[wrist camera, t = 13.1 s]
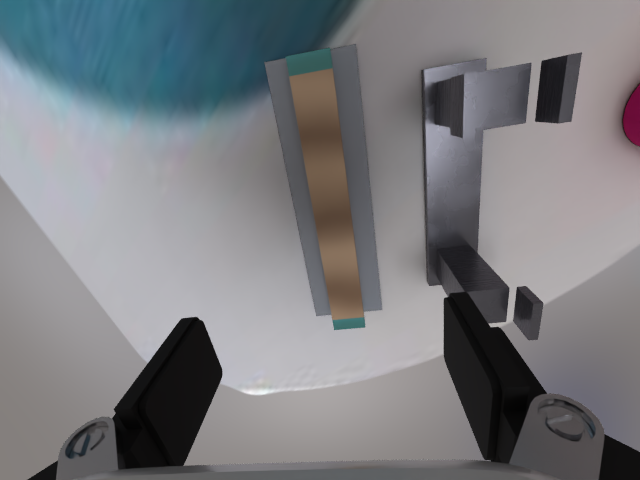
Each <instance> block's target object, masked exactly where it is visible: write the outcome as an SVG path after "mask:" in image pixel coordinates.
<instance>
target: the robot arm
mask: <svg viewBox="0 0 640 480" xmlns="http://www.w3.org/2000/svg"><path fill="white" fill-rule="evenodd" d="M444 358H445V362H446V365H447V368H448V370H449V373H450V375H451V378H452V380H453V383H454V385H455V388H456V391H457V393H458V396H459V398H460V400H461V403H462V406H463V408H464V411H465V413H466V416H467V418H468V421H469V423H470V426H471V428H472V431H473V433H474V436H475V438H476V441H477V443H478V446H479V448H480V451H481V453H482V455H483V458H484V459H485V460H491V461H478V460H372V461H327V462H292V463H291V462H290V463H257V464H256V463H255V464H224V465H195V466H183V465H184V463H185V461H186V459H187V457H188V454H189V452H190V449H191V447H192V445H193V443H194V440H195V438H196V436H197V434H198V431H199V429H200V427H201V424H202V422H203V420H204V418H205V415H206V413H207V411H208V408H209V406H210V404H211V402H212V399H213V397H214V394H215V392H216V390H217V388H218V385H219V383H220V381H221V378H222V368H221V365H220V363H219V360H218V358H217V355H216V353H215V350H214V348H213V345H212V342H211V340H210V337H209V335H208V332H207V330H206V327H205V325H204V323H203V321H202V320H199V318H197V317H191V318H183V319H181V320H180V321H179V322H178V324H177V325H176V326H175V328H174V329H173V330H172V332H171V333H170V334H169V336H168V337H167V338H166V340H165V341H164V342H163V344H162V345H161V347H160V348H159V349H158V351H157V352H156V353H155V355H154V356H153V357H152V359H151V360H150V361H149V363H148V364H147V365H146V367H145V368H144V370H143V371H142V372H141V373H140V375H139V376H138V378H137V379H136V380H135V382H134V383H133V384H132V386H131V387H130V388H129V390H128V391H127V392H126V394H125V395H124V396H123V398H122V399H121V400H120V402H119V403H118V404H117V406H116V407H115V408H114V410H115V412H116V414H115V415H114V417H113V418H112V419H111V418H110V417H100V418H96V419H94V420H91V421H89V422H87V423H86V424H84V425H83V426H81V427H80V428H78V429H77V430H76V431H75V432H74V433H73V434H72V435H71V436H70V437H69V438H68V439H67V440H66V441H65V443H64V444H63V446H62V448H61V450H60V453H59V457H58V461H56V462H55V463H53V464H51V465H50V466H48V467H47V468H45V469H44V470H42V471H41V472H39V473H37V474H36V475H34V476H33V477H31V478H29V479H28V480H640V452H638V451H637V450H634V449H632V448H631V447H629V446H627V445H625V444H623V443H621V442H619V441H617V440H615V439H613V438H611V437H609V436H607V435H605V434H604V429H603V427H602V424H601V423H600V421H599V419H598V418H597V417H596V416H595V415H594V414H593V413H592V412H591V411H590V410H589V409H588V408H586V407H585V406H584V405H582V404H581V403H579V402H577V401H575V400H573V399H571V398H569V397H566V396H562V395H558V394H547V393H546V391H545V390H544V389H543V387H542V386H541V384H540V383H539V381H538V380H537V379H536V377H535V376H534V374H533V373H532V372H531V370H530V369H529V367H528V366H527V365H526V363H525V362H524V360H523V359H522V357H521V356H520V354H519V353H518V352H517V350H516V349H515V348H514V346H513V345H512V343H511V342H510V340H509V339H508V337H507V336H506V335H505V333H504V332H503V331H502V329H501V328H499V327H490V326H489V324H488V323H487V321H486V320H485V318H484V317H483V315H482V314H481V312H480V311H479V309H478V308H477V306H476V305H475V303H474V301H473V300H472V298H471V297H470V295H469V294H468V293H467V292H456V293H450V294H449V297H446V298H444Z"/></svg>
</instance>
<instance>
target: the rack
mask: <svg viewBox="0 0 640 480" xmlns="http://www.w3.org/2000/svg"><path fill="white" fill-rule="evenodd" d="M581 55H582V53H576V54H571V55H566V56H561V57H557V58H552V59H548V60H543V61H542V63H541V72H540V81H539V90H538V100H537V109H536V118H535V122H547V123H564V122H571V120H572V114H573V107H574V101H575V94H576V88H577V81H578V75H579V68H580V62H581ZM530 73H531V63H527V64H522V65H516V66H510V67H505V68H499V69H494V70H488V71H486V58H484V59H478V60H473V61H468V62H462V63H457V64H451V65H446V66H441V67H435V68H430V69H424V70H422V100H423V138H424V176H425V213H426V251H427V282H428V284H429V286H434V285H442V287H443V289H444V291H445V292H446V294H447V296H448V297H449V294H450V293H456V292H467V293H468V294H469V295H470V297H471V298H472V300H473V301H474V303H475V305H476V306H477V308H478V309H479V311H480V312H481V314H482V315H483V317H484V318H485V320H486V321H487V323H498V322H506V317H507V307H508V297H509V287H508V286H507V285H506V284H505V282H504V281H503V280H502V279H501V278H500V277H499V276H498V275H497V274H496V273H495V272H494V271H493V269H492V268H491V267H490V266H489V265H488V264H487V263H486V262H485V261H484V260H483V259H482V258H481V257H480V255H479V254H478V253H477V250H478V229H479V208H480V186H481V165H482V144H483V130H485V129H491V128H497V127H504V126H510V125H516V124H523V123H526V114H527V104H528V94H529V83H530ZM542 309H543V302H542V301H541V300H540V299H539V298H538V297H537V296H536V295H535V294H534V293H533V292H532V291H531V290H529V289H528V288H527V287H526V286H522V287H517V291H516V300H515V309H514V319H513V322H514V323H515V324H516V325H517V327H518V328H519V329H520V330H521V332H522V333H523V334H524V335H525V337H526V338H527V339H528V340H537V339H538V335H539V329H540V322H541V316H542Z"/></svg>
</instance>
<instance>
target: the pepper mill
mask: <svg viewBox="0 0 640 480" xmlns="http://www.w3.org/2000/svg"><path fill="white" fill-rule="evenodd" d="M623 125H624V130H625V133H626V135H627V137H628V138H629V139H630V140H631V142H633V143H634V144H635V145H637V146H640V84H639V86H638V87H637V88H636V90H635V91H634V92H633V94H632V95H631V97H630V99H629V101H628V103H627V105H626V107H625V112H624V117H623Z"/></svg>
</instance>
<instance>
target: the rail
mask: <svg viewBox="0 0 640 480" xmlns="http://www.w3.org/2000/svg"><path fill="white" fill-rule="evenodd" d="M286 61H287V67H288V73H289V78H290V84H291V89H292V95H293V101H294V106H295V112H296V117H297V123H298V129H299V134H300V140H301V146H302V151H303V157H304V162H305V168H306V174H307V179H308V185H309V191H310V196H311V202H312V207H313V213H314V219H315V224H316V230H317V235H318V241H319V247H320V252H321V258H322V264H323V269H324V275H325V280H326V286H327V292H328V297H329V303H330V309H331V314H332V320H333V325H334V330H339V329H351V328H363V327H365V320H364V311H363V302H362V294H361V287H360V279H359V271H358V263H357V255H356V247H355V239H354V231H353V223H352V215H351V207H350V200H349V192H348V184H347V176H346V168H345V160H344V152H343V144H342V136H341V128H340V120H339V113H338V105H337V97H336V89H335V81H334V73H333V65H332V57H331V51H330V48H326V49H321V50H316V51H311V52H306V53H301V54H296V55H291V56H286Z"/></svg>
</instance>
